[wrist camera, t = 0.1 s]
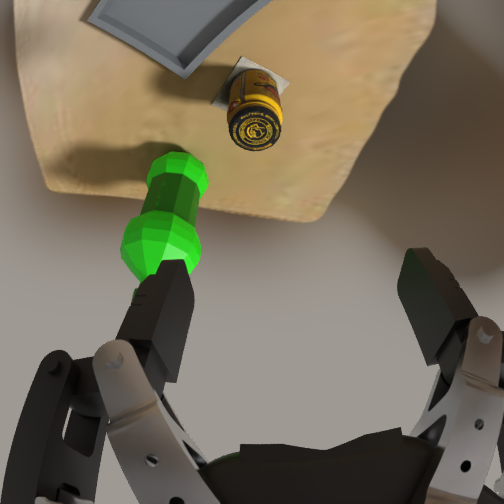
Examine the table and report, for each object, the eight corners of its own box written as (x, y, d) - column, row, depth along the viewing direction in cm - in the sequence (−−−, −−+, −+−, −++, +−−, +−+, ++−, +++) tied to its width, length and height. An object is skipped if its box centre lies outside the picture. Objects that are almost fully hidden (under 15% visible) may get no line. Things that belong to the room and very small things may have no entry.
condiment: (290, 81, 32) (303, 124, 25) (256, 125, 38) (257, 177, 31) (242, 55, 29) (237, 89, 22) (211, 104, 35) (198, 152, 28)
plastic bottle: (209, 190, 49) (192, 328, 35) (152, 183, 47) (115, 317, 33) (216, 144, 41) (195, 297, 27) (150, 137, 39) (94, 283, 25)
